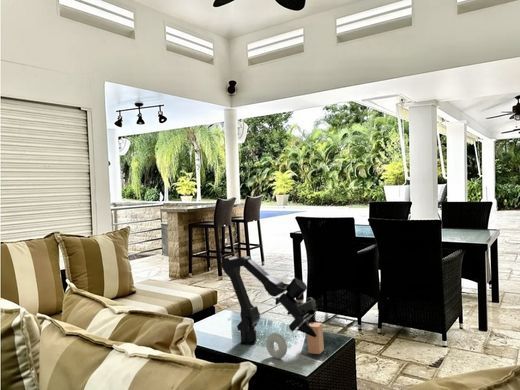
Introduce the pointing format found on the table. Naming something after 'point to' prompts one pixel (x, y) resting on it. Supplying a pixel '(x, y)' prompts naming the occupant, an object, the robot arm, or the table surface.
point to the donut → (271, 348)
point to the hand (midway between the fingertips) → (318, 334)
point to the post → (315, 339)
